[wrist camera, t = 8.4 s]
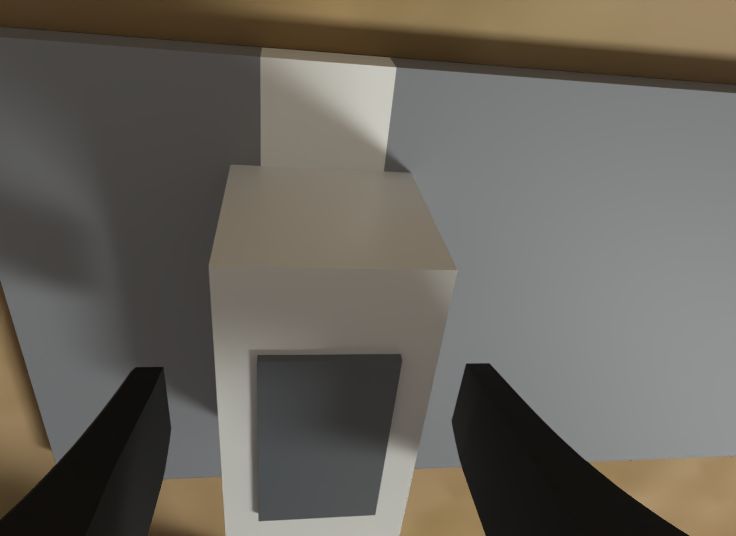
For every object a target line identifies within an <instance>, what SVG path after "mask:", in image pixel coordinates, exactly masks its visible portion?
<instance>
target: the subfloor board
mask: <svg viewBox="0 0 736 536" xmlns="http://www.w3.org/2000/svg"><path fill="white" fill-rule="evenodd" d="M230 165H253V166H275V167H297V168H319V169H341V170H363V171H386V172H408V173H412V175H413V177H414V180H415V182H416V184H417V186H418V188H419V190H420V192H421V194H422V196H423V198H424V201H425V203H426V205H427V207H428V209H429V211H430V213H431V215H432V217H433V219H434V222H435V224H436V226H437V228H438V230H439V232H440V234H441V236H442V238H443V240H444V242H445V245H446V247H447V249H448V251H449V253H450V255H451V257H452V259H453V261H454V263H455V266H456V268H457V270H458V271H457V276H456V281H455V285H454V290H453V294H452V299H451V303H450V308H449V312H448V317H447V321H446V326H445V331H444V335H443V340H442V344H441V349H440V353H439V358H438V362H437V367H436V371H435V376H434V380H433V385H432V390H431V394H430V399H429V403H428V408H427V412H426V417H425V421H424V426H423V430H422V435H421V440H420V444H419V449H418V453H417V458H416V462H415V467H414V469H424V468H449V467H462V466H461V463H460V460H459V455H458V451H457V447H456V442H455V437H454V432H453V427H452V422H451V421H452V417H453V413H454V409H455V405H456V401H457V397H458V393H459V389H460V385H461V381H462V377H463V374H464V370H465V366H466V363H490V364H491V365H492V366H493V368H494V369H495V370H496V371H497V372H498V373H499V374H500V375H501V376H502V377H503V378H504V379H505V381H506V382H507V383H508V384H509V385H510V386H511V387H512V388H513V389H514V390H515V391H516V392H517V394H518V395H519V396H520V397H521V398H522V399H523V400H524V401H525V402H526V403H527V404H528V405H529V406H530V407H531V408H532V409H533V411H534V412H535V413H536V414H537V415H538V416H539V417H540V418H541V419H542V420H543V421H544V422H545V423H546V424H547V425H548V426H549V427H550V428H551V429H552V430H553V431H554V432H555V433H556V434H557V435H558V436H560V437H561V438H562V439H563V440H564V441H565V442H566V443H567V444H568V445H569V446H570V447H571V448H573V449H574V450H575V451H576V452H577V453H578V454H579V455H580V456H581V457H582V458H584V459H585V460H586V461H587V462H596V461H621V460H645V459H670V458H694V457H719V456H736V85H732V84H719V83H706V82H694V81H681V80H668V79H656V78H643V77H630V76H618V75H605V74H592V73H580V72H567V71H554V70H542V69H529V68H517V67H504V66H491V65H479V64H466V63H453V62H441V61H428V60H415V59H403V58H390V57H377V56H365V55H352V54H339V53H327V52H314V51H301V50H289V49H276V48H263V47H251V46H238V45H226V44H213V43H200V42H188V41H175V40H162V39H150V38H137V37H124V36H112V35H99V34H86V33H74V32H61V31H48V30H36V29H23V28H10V27H0V281H1V284H2V288H3V291H4V294H5V298H6V301H7V304H8V307H9V311H10V314H11V317H12V321H13V324H14V327H15V331H16V334H17V337H18V340H19V344H20V347H21V350H22V354H23V357H24V360H25V363H26V367H27V370H28V373H29V377H30V380H31V383H32V387H33V390H34V393H35V396H36V400H37V403H38V406H39V410H40V413H41V416H42V419H43V423H44V426H45V429H46V433H47V436H48V439H49V443H50V446H51V449H52V452H53V456H54V459H55V462H56V464H57V463H58V462H59V460H60V459H61V458H62V457H63V456H64V455H65V454H66V453H67V452H68V451H69V449H70V448H71V447H72V446H73V445H74V444H75V443H76V442H77V440H78V439H79V438H80V437H81V436H82V434H83V433H84V432H85V431H86V429H87V428H88V427H89V426H90V425H91V423H92V422H93V421H94V420H95V418H96V417H97V416H98V415H99V414H100V412H101V411H102V410H103V408H104V407H105V406H106V404H107V403H108V402H109V401H110V399H111V398H112V397H113V395H114V394H115V393H116V391H117V390H118V388H119V387H120V386H121V384H122V383H123V382H124V380H125V379H126V377H127V376H128V374H129V373H130V372H131V370H133V369H134V368H135V367H164V374H165V382H166V390H167V398H168V406H169V414H170V422H171V436H170V442H169V449H168V456H167V462H166V468H165V473H164V477H163V479H178V478H203V477H222V470H221V454H220V438H219V422H218V406H217V391H216V375H215V359H214V343H213V328H212V312H211V296H210V280H209V262H210V257H211V253H212V248H213V243H214V239H215V234H216V230H217V225H218V220H219V216H220V211H221V206H222V202H223V197H224V193H225V188H226V183H227V179H228V174H229V170H230Z"/></svg>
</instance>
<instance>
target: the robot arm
mask: <svg viewBox="0 0 736 536" xmlns="http://www.w3.org/2000/svg"><path fill="white" fill-rule="evenodd" d="M451 422H452V427H453V432H454V437H455V442H456V447H457V451H458V455H459V460H460V463H461V466H462V469H463V472H464V475H465V478H466V481H467V483H468V486H469V489H470V492H471V495H472V498H473V501H474V503H475V506H476V509H477V512H478V515H479V518H480V521H481V523H482V526H483V529H484V532H485V535H486V536H689V535H687V534H686V533H684V532H683V531H681V530H679V529H678V528H676V527H675V526H673V525H672V524H670V523H669V522H667V521H665V520H664V519H662V518H661V517H659V516H658V515H657V514H655V513H654V512H652V511H651V510H649V509H648V508H647V507H645V506H644V505H642V504H641V503H639V502H638V501H637V500H635V499H634V498H632V497H631V496H630V495H628V494H627V493H626V492H624V491H623V490H622V489H620V488H619V487H618V486H616V485H615V484H614V483H613V482H611V481H610V480H609V479H608V478H606V477H605V476H604V475H603V474H601V473H600V472H599V471H598V470H596V469H595V468H594V467H593V466H592V465H591V464H589V463H588V462H587V461H586V460H585V459H584V458H582V457H581V456H580V455H579V454H578V453H577V452H576V451H575V450H574V449H573V448H571V447H570V446H569V445H568V444H567V443H566V442H565V441H564V440H563V439H562V438H561V437H560V436H558V435H557V434H556V433H555V432H554V431H553V430H552V429H551V428H550V427H549V426H548V425H547V424H546V423H545V422H544V421H543V420H542V419H541V418H540V417H539V416H538V415H537V414H536V413H535V412H534V411H533V409H532V408H531V407H530V406H529V405H528V404H527V403H526V402H525V401H524V400H523V399H522V398H521V397H520V396H519V395H518V394H517V392H516V391H515V390H514V389H513V388H512V387H511V386H510V385H509V384H508V383H507V382H506V381H505V379H504V378H503V377H502V376H501V375H500V374H499V373H498V372H497V371H496V370H495V369H494V368H493V366H492V365H491V364H490V363H466V366H465V370H464V374H463V377H462V381H461V385H460V389H459V393H458V397H457V401H456V405H455V409H454V413H453V417H452V421H451ZM170 436H171V422H170V414H169V406H168V398H167V390H166V382H165V374H164V367H135V368H134V369H133V370H131V372H130V373H129V374H128V376H127V377H126V379H125V380H124V382H123V383H122V384H121V386H120V387H119V388H118V390H117V391H116V393H115V394H114V395H113V397H112V398H111V399H110V401H109V402H108V403H107V404H106V406H105V407H104V408H103V410H102V411H101V412H100V414H99V415H98V416H97V417H96V418H95V420H94V421H93V422H92V423H91V425H90V426H89V427H88V428H87V429H86V431H85V432H84V433H83V434H82V436H81V437H80V438H79V439H78V440H77V442H76V443H75V444H74V445H73V446H72V447H71V448H70V449H69V451H68V452H67V453H66V454H65V455H64V456H63V457H62V458H61V459H60V460H59V462H58V463H57V464H56V465H55V466H54V467H53V468H52V469H51V470H50V472H49V473H48V474H47V475H46V476H45V477H44V478H43V479H42V480H41V481H40V482H39V483H38V484H37V485H36V486H35V487H34V488H33V489H32V490H31V491H30V492H29V493H28V494H27V495H26V496H25V497H24V498H23V499H22V500H21V501H20V502H19V503H18V504H17V505H16V506H15V507H14V508H12V509H11V510H10V511H9V512H8V513H7V514H6V515H5V516H4V517H3V518H2V519H0V536H147V535H148V532H149V528H150V524H151V521H152V517H153V514H154V510H155V506H156V503H157V499H158V495H159V492H160V488H161V484H162V481H163V477H164V473H165V468H166V462H167V456H168V449H169V442H170Z"/></svg>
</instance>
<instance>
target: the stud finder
mask: <svg viewBox="0 0 736 536" xmlns="http://www.w3.org/2000/svg"><path fill="white" fill-rule="evenodd" d="M457 271H458V270H457V268H456V266H455V263H454V261H453V259H452V257H451V255H450V253H449V251H448V249H447V247H446V245H445V242H444V240H443V238H442V236H441V234H440V232H439V230H438V228H437V226H436V224H435V222H434V219H433V217H432V215H431V213H430V211H429V209H428V207H427V205H426V203H425V201H424V198H423V196H422V194H421V192H420V190H419V188H418V186H417V184H416V182H415V180H414V177H413V175H412V173H408V172H386V171H363V170H341V169H319V168H297V167H275V166H253V165H230V170H229V174H228V179H227V183H226V188H225V193H224V197H223V202H222V206H221V211H220V216H219V220H218V225H217V230H216V234H215V239H214V243H213V248H212V253H211V257H210V262H209V280H210V296H211V312H212V328H213V343H214V359H215V375H216V391H217V406H218V422H219V438H220V454H221V470H222V485H223V501H224V517H225V533H226V536H399V535H400V530H401V526H402V521H403V517H404V512H405V508H406V503H407V499H408V494H409V490H410V485H411V480H412V476H413V471H414V467H415V462H416V458H417V453H418V449H419V444H420V440H421V435H422V430H423V426H424V421H425V417H426V412H427V408H428V403H429V399H430V394H431V390H432V385H433V380H434V376H435V371H436V367H437V362H438V358H439V353H440V349H441V344H442V340H443V335H444V331H445V326H446V321H447V317H448V312H449V308H450V303H451V299H452V294H453V290H454V285H455V281H456V276H457Z"/></svg>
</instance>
